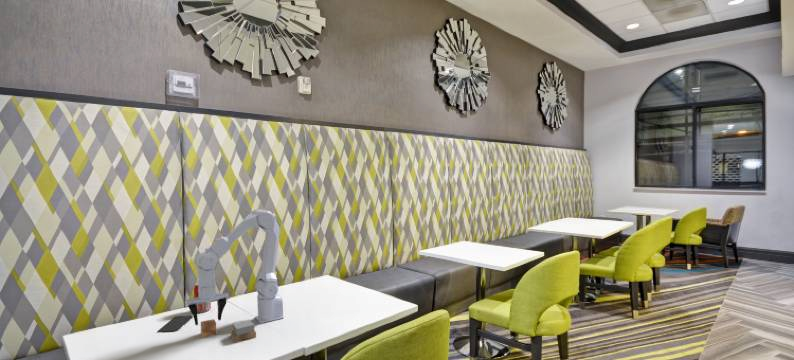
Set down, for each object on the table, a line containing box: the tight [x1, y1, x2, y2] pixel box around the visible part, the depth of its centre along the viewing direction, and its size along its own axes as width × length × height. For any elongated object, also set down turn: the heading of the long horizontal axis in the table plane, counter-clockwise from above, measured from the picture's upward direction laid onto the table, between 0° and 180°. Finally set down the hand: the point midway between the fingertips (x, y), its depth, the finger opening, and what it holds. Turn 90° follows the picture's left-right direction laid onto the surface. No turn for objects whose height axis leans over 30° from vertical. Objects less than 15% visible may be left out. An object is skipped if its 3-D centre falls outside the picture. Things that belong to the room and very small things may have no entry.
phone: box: [157, 315, 194, 333], centre depth 156 cm, size 7×1×15 cm
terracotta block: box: [200, 318, 218, 339], centre depth 146 cm, size 4×4×4 cm
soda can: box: [193, 282, 212, 314], centre depth 170 cm, size 6×6×12 cm
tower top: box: [231, 319, 255, 336], centre depth 143 cm, size 6×6×2 cm
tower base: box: [230, 329, 257, 343], centre depth 143 cm, size 7×7×2 cm
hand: (208, 321), depth 146 cm, fingers open, 7 cm apart
